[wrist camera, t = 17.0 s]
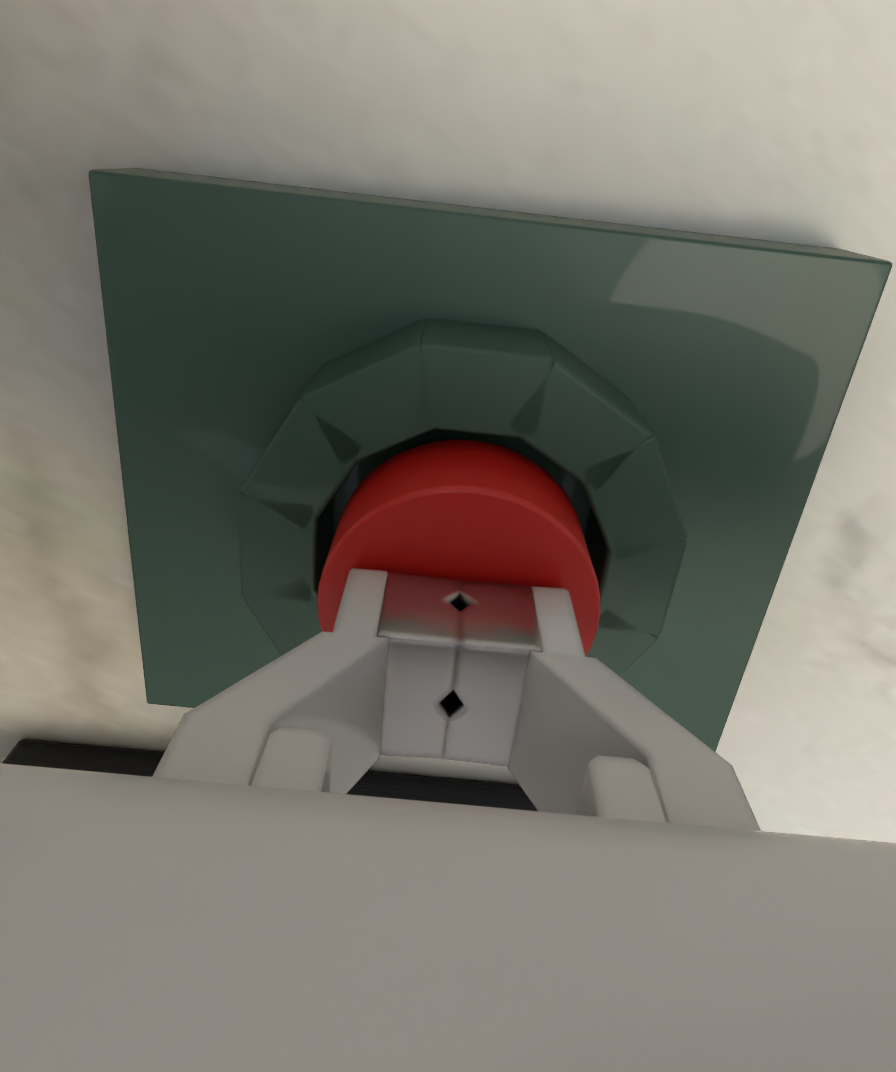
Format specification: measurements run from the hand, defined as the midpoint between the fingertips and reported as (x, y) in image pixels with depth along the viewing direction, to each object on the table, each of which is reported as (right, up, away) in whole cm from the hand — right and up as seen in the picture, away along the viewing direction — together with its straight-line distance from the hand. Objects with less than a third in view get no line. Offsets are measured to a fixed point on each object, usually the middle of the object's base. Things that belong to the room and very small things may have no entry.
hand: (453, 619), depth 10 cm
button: (0, +1, +2) cm, 2 cm away
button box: (0, +2, +4) cm, 5 cm away
